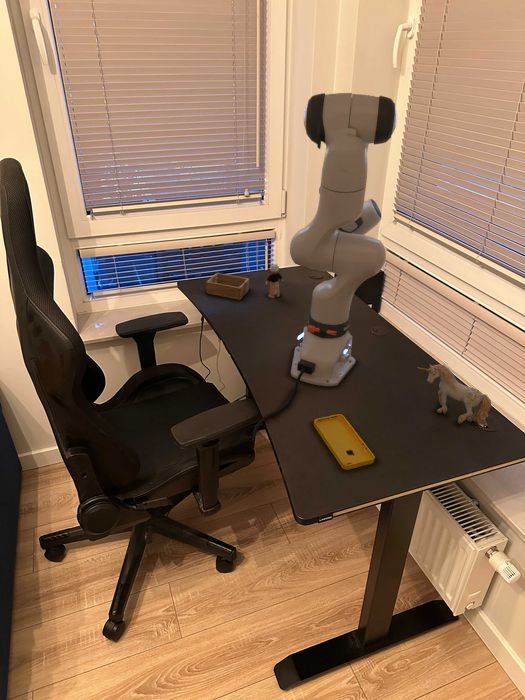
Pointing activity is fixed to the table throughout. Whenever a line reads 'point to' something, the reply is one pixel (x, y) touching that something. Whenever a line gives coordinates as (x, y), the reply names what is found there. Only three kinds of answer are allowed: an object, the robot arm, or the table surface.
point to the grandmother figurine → (274, 281)
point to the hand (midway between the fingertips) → (308, 259)
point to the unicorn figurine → (459, 395)
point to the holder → (227, 286)
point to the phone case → (343, 442)
